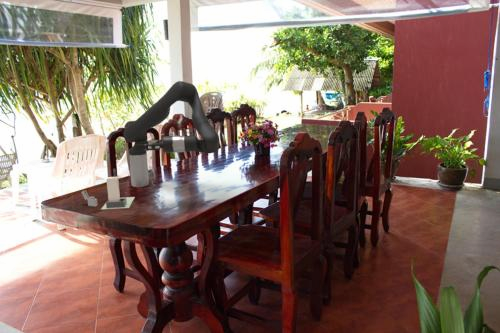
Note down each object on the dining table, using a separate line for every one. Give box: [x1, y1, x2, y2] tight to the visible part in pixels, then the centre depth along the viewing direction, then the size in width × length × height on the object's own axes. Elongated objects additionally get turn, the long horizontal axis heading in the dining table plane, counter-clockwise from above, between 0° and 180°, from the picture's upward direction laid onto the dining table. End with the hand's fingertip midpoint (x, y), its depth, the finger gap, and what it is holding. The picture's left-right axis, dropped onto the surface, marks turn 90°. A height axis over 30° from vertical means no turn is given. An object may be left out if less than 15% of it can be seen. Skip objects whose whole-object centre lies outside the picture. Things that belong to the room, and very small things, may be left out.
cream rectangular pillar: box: [106, 168, 121, 202], centre depth 196 cm, size 3×4×17 cm, turn 97°
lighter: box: [81, 189, 99, 207], centre depth 199 cm, size 7×2×8 cm, turn 69°
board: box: [101, 196, 135, 210], centre depth 202 cm, size 18×12×4 cm, turn 6°
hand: (137, 145), depth 193 cm, fingers open, 8 cm apart
